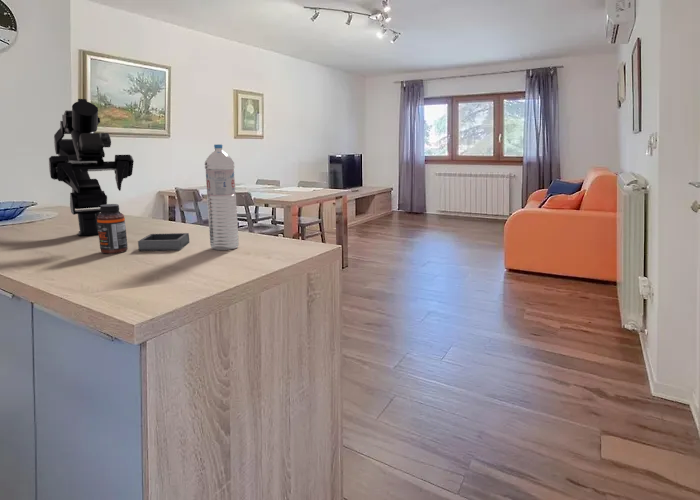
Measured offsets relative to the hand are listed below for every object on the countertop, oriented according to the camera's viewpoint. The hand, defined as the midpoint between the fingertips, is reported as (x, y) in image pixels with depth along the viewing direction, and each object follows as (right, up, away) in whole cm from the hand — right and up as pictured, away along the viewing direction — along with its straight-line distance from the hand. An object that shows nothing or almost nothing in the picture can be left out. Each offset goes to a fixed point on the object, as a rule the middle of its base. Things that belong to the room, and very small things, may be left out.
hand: (99, 190), depth 119 cm
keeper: (+15, -14, +2) cm, 21 cm away
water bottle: (+31, -14, 0) cm, 34 cm away
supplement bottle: (+5, -15, -3) cm, 16 cm away
